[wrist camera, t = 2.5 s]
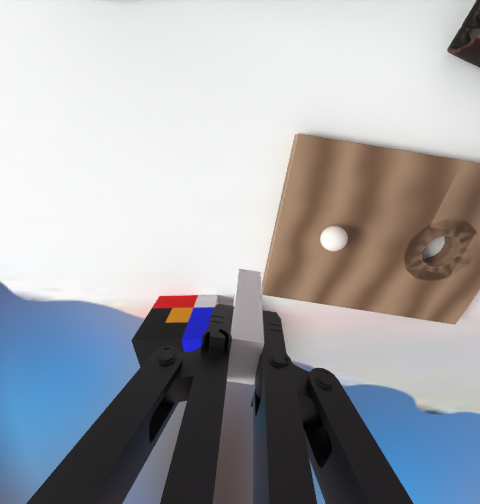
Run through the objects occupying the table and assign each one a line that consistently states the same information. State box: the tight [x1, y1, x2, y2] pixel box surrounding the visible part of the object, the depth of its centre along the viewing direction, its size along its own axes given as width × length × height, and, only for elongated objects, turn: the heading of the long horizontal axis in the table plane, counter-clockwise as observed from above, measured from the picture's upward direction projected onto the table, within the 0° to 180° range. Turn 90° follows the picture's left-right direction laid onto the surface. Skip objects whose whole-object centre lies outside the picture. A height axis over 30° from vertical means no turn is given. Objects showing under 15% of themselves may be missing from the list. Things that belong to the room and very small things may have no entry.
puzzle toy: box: [132, 295, 219, 367], centre depth 36 cm, size 10×10×10 cm
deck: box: [262, 134, 480, 324], centre depth 32 cm, size 30×22×2 cm
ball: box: [320, 226, 348, 251], centre depth 29 cm, size 3×3×3 cm
